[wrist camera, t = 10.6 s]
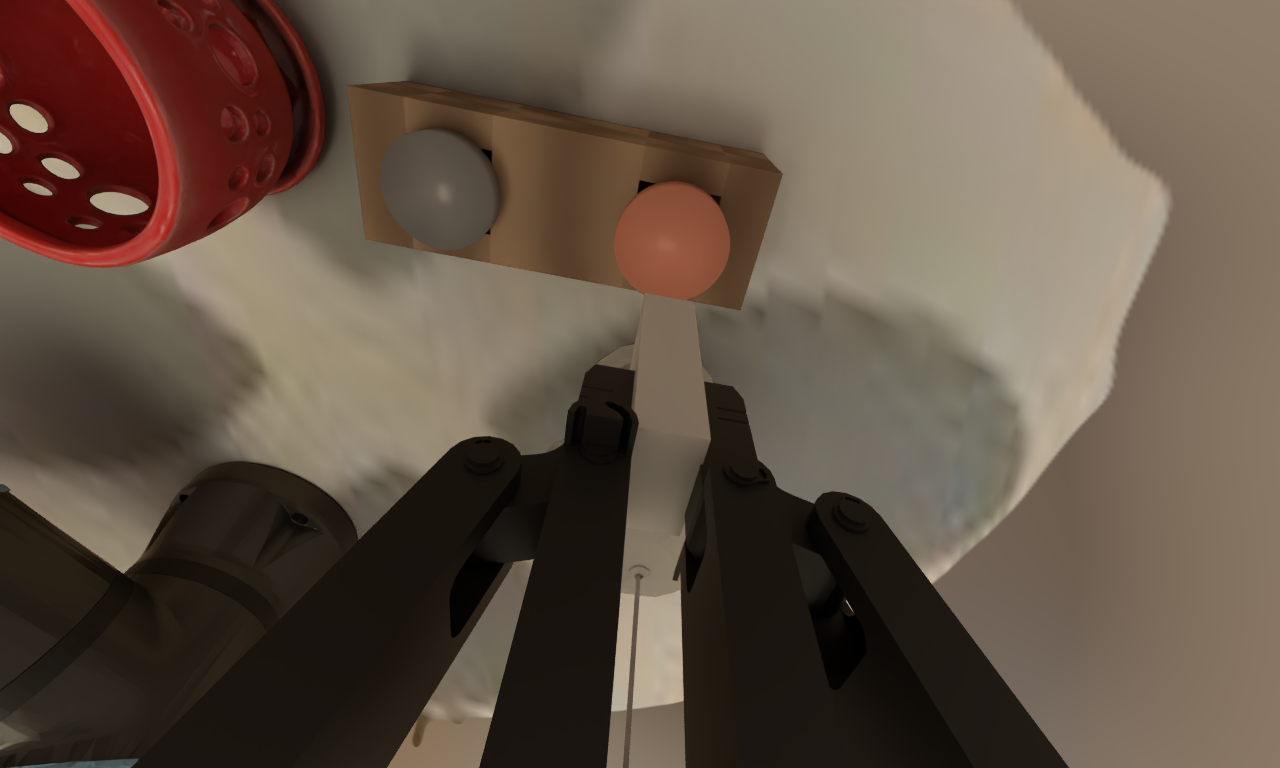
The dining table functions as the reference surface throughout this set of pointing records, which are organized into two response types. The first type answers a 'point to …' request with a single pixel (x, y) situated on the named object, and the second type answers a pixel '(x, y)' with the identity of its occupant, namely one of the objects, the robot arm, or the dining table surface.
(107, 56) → the plant pot
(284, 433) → the dining table surface
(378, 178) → the socket block
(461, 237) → the charcoal plug
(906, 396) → the dining table surface
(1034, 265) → the dining table surface
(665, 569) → the french press
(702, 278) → the red plug
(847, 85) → the dining table surface
